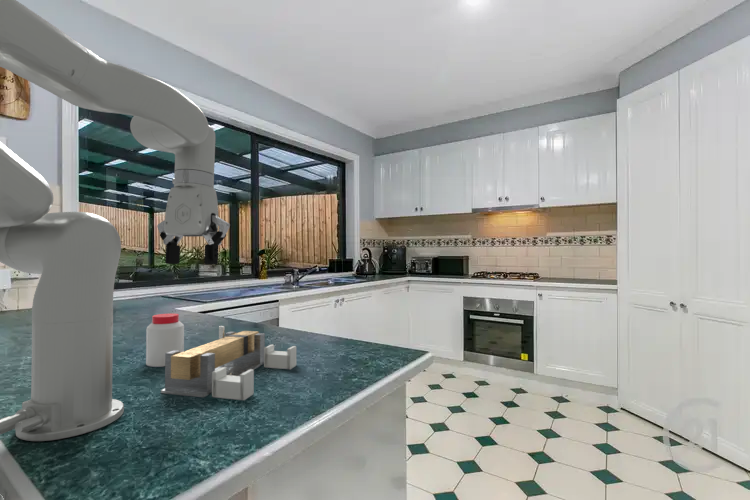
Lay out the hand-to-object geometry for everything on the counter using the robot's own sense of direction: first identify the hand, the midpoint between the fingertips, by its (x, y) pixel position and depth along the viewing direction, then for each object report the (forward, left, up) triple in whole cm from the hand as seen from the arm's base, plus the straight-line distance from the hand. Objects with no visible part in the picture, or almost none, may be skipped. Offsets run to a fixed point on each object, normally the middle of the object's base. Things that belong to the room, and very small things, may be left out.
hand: (191, 264), depth 78 cm
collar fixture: (+2, -6, -23) cm, 24 cm away
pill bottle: (+8, +13, -24) cm, 28 cm away
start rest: (+2, -15, -23) cm, 28 cm away
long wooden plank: (+2, -6, -20) cm, 21 cm away
